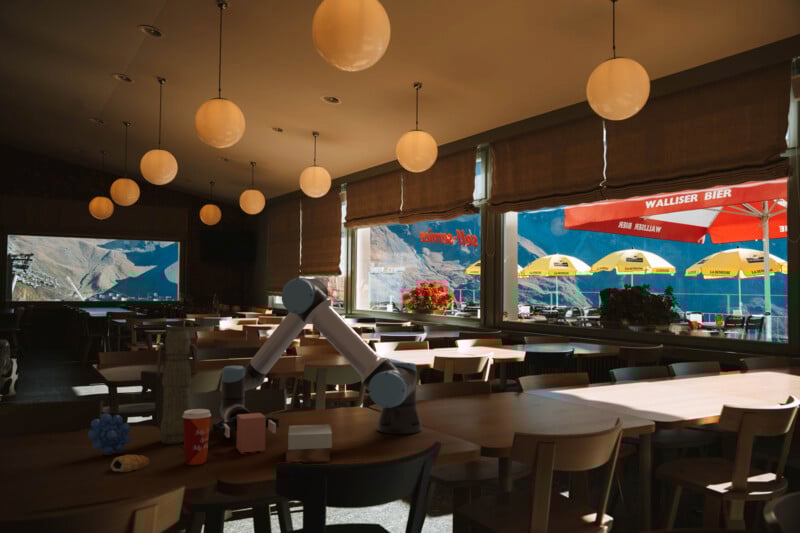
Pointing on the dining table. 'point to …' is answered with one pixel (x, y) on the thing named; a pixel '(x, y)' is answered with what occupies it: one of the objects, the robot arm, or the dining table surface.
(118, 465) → the pastry
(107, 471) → the dining table surface
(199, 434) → the paper cup
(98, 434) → the blue knobbly flower
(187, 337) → the stone statue
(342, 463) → the dining table surface
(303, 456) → the tower base
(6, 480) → the dining table surface
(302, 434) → the tower top
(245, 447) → the salmon pink block
